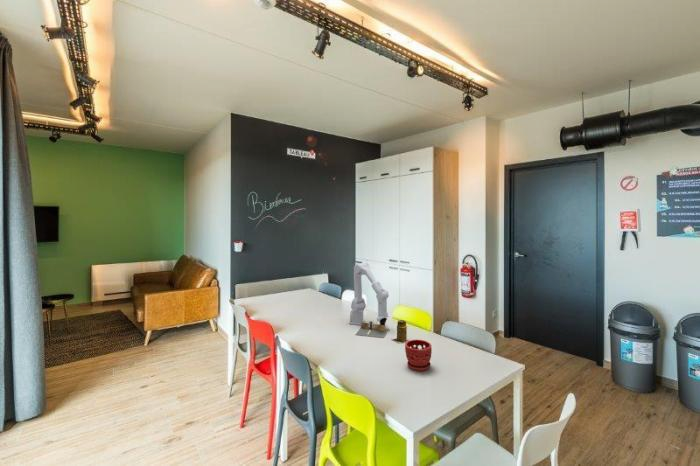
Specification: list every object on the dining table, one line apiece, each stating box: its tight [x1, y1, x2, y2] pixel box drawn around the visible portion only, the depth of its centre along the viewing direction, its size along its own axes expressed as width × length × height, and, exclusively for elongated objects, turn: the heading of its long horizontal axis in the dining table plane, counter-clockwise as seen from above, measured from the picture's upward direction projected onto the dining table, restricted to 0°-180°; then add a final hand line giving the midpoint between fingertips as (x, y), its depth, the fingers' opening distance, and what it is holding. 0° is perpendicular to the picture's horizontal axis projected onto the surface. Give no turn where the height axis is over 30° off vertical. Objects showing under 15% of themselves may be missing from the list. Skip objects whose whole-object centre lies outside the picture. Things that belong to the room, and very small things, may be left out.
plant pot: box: [404, 339, 433, 372], centre depth 164 cm, size 13×13×12 cm
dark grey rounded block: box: [360, 320, 373, 330], centre depth 219 cm, size 8×2×5 cm, turn 72°
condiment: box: [391, 319, 410, 344], centre depth 199 cm, size 7×8×12 cm
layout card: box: [355, 326, 389, 339], centre depth 214 cm, size 19×17×1 cm
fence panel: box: [372, 323, 387, 332], centre depth 216 cm, size 9×1×4 cm, turn 63°
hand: (382, 328), depth 216 cm, fingers closed, pressing on fence panel
